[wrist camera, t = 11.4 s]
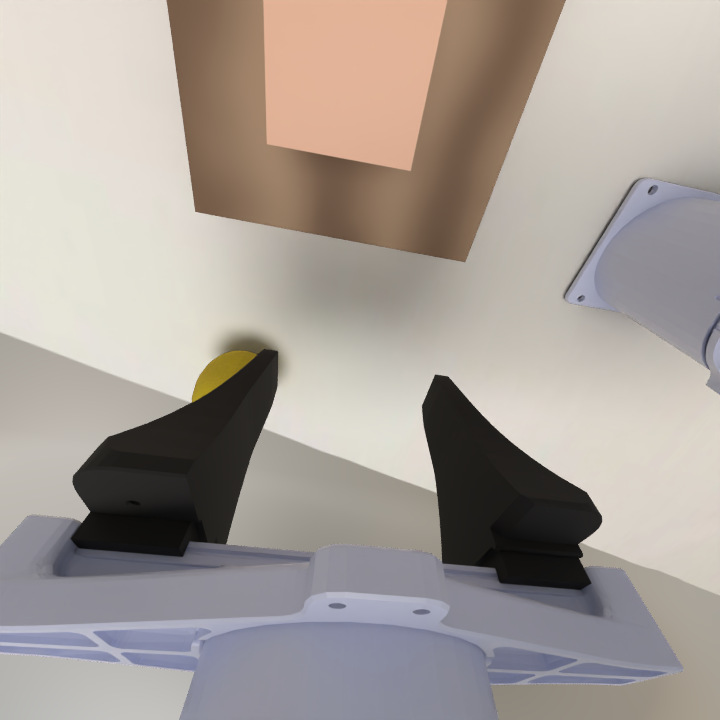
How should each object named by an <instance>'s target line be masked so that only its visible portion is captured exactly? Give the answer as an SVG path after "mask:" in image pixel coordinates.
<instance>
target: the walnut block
mask: <svg viewBox="0 0 720 720" xmlns="http://www.w3.org/2000/svg"><path fill="white" fill-rule="evenodd" d="M565 1H566V0H447V5H446V9H445V14H444V19H443V23H442V28H441V33H440V37H439V42H438V46H437V51H436V56H435V60H434V65H433V70H432V74H431V79H430V83H429V88H428V93H427V97H426V102H425V107H424V111H423V116H422V120H421V125H420V130H419V134H418V139H417V144H416V148H415V153H414V158H413V162H412V167H411V171H408V170H402V169H397V168H392V167H386V166H381V165H376V164H370V163H365V162H360V161H354V160H349V159H344V158H338V157H333V156H328V155H322V154H317V153H311V152H306V151H301V150H295V149H290V148H285V147H279V146H274V145H269V144H267V135H266V93H265V51H264V8H263V0H167V5H168V13H169V20H170V27H171V35H172V42H173V50H174V57H175V64H176V72H177V79H178V87H179V94H180V101H181V109H182V116H183V123H184V131H185V138H186V146H187V153H188V160H189V168H190V175H191V182H192V190H193V197H194V205H195V212H199V213H205V214H210V215H215V216H221V217H226V218H231V219H237V220H242V221H247V222H253V223H258V224H264V225H269V226H274V227H280V228H285V229H290V230H296V231H301V232H306V233H312V234H317V235H322V236H328V237H333V238H338V239H344V240H349V241H355V242H360V243H365V244H371V245H376V246H381V247H387V248H392V249H397V250H403V251H408V252H413V253H419V254H424V255H429V256H435V257H440V258H445V259H451V260H456V261H462V262H465V261H466V259H467V256H468V253H469V251H470V248H471V246H472V243H473V240H474V238H475V235H476V233H477V230H478V227H479V225H480V222H481V220H482V217H483V214H484V212H485V209H486V207H487V204H488V201H489V199H490V196H491V194H492V191H493V188H494V186H495V183H496V181H497V178H498V175H499V173H500V170H501V168H502V165H503V162H504V160H505V157H506V154H507V152H508V149H509V147H510V144H511V141H512V139H513V136H514V134H515V131H516V128H517V126H518V123H519V121H520V118H521V115H522V113H523V110H524V108H525V105H526V102H527V100H528V97H529V95H530V92H531V89H532V87H533V84H534V82H535V79H536V76H537V74H538V71H539V69H540V66H541V63H542V61H543V58H544V56H545V53H546V50H547V48H548V45H549V43H550V40H551V37H552V35H553V32H554V30H555V27H556V24H557V22H558V19H559V16H560V14H561V11H562V9H563V6H564V3H565Z"/></svg>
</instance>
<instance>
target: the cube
mask: <svg viewBox="0 0 720 720" xmlns="http://www.w3.org/2000/svg"><path fill="white" fill-rule="evenodd" d="M446 5H447V0H263V8H264V51H265V93H266V135H267V144H269V145H274V146H279V147H285V148H290V149H295V150H301V151H306V152H311V153H317V154H322V155H328V156H333V157H338V158H344V159H349V160H354V161H360V162H365V163H370V164H376V165H381V166H386V167H392V168H397V169H402V170H408V171H411V167H412V162H413V158H414V153H415V148H416V144H417V139H418V134H419V130H420V125H421V120H422V116H423V111H424V107H425V102H426V97H427V93H428V88H429V83H430V79H431V74H432V70H433V65H434V60H435V56H436V51H437V46H438V42H439V37H440V33H441V28H442V23H443V19H444V14H445V9H446Z"/></svg>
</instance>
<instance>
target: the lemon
mask: <svg viewBox="0 0 720 720" xmlns="http://www.w3.org/2000/svg"><path fill="white" fill-rule="evenodd" d="M255 356H257V354H255V353H252V352H249V351H241V350H240V351H231V352H227V353H224V354H222V355H220V356H219V357H217V358H216V359H214V360H212V361H211V362H210V363H209V364H208V365H207V366H206V368H205V369H204V370H203V372H202V373H201V374H200V376H199V378H198V380H197V382H196V385H195V388H194V392H193V395H192V402H194V401H196V400H198V399H199V398H201V397H203V396H204V395H206V394H208V393H209V392H211V391H212V390H214V389H215V388H217V387H218V386H220V385H221V384H222V383H224V382H225V381H226V380H228V379H229V378H230V377H232V376H233V375H234V374H236V373H237V372H238V371H239V370H240V369H242V368H243V367H244V366H245V365H246V364H248V363H249V362H250V361H251V360H252V359H253V358H254V357H255Z"/></svg>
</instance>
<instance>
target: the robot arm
mask: <svg viewBox="0 0 720 720" xmlns="http://www.w3.org/2000/svg"><path fill="white" fill-rule="evenodd" d="M651 186H653V188H652V190H651V192H650V193H648V190H649V188H650V187H651ZM581 295H582V297H581V298H580V299H578V297H579V296H581ZM577 299H578V300H577ZM565 300H566V301H567V302H568V303H571V304H577V305H582V306H588V307H593V308H599V309H604V310H610V311H616V312H621V313H624V314H625V315H627V316H628V317H630V318H631V319H633V320H634V321H636V322H637V323H639V324H640V325H642V326H643V327H645V328H646V329H648V330H650V331H651V332H653V333H654V334H656V335H657V336H659V337H660V338H662V339H663V340H665V341H666V342H668V343H669V344H671V345H672V346H674V347H675V348H677V349H678V350H680V351H682V352H683V353H685V354H686V355H688V356H689V357H691V358H692V359H694V360H695V361H697V362H698V363H700V364H701V365H703V366H704V367H706V368H707V369H709V370H710V372H711V374H710V378H709V380H708V381H707V383H706V385H707V386H708V387H710V388H711V389H712V390H714V391H715V392H717V393H718V394H719V395H720V194H717V193H712V192H708V191H704V190H699V189H695V188H691V187H686V186H682V185H677V184H673V183H669V182H664V181H660V180H655V179H651V178H643V179H640V180H639V181H637V182H636V183H635V185H634V186H633V187H632V189H631V191H630V192H629V194H628V195H627V197H626V199H625V200H624V202H623V203H622V205H621V207H620V208H619V210H618V211H617V213H616V215H615V216H614V218H613V220H612V221H611V223H610V224H609V226H608V228H607V229H606V231H605V232H604V234H603V236H602V237H601V239H600V240H599V242H598V244H597V245H596V247H595V248H594V250H593V252H592V253H591V255H590V256H589V258H588V260H587V261H586V263H585V264H584V266H583V268H582V269H581V271H580V273H579V274H578V276H577V277H576V279H575V281H574V282H573V284H572V285H571V287H570V289H569V290H568V292H567V293H566V295H565ZM277 385H278V351H273V350H266V349H264V350H262V351H261V352H260V353H259V354H258V355H257V356H255V357H254V358H253V359H252V360H251V361H250V362H249V363H248V364H246V365H245V366H244V367H243V368H242V369H240V370H239V371H238V372H237V373H236V374H234V375H233V376H232V377H230V378H229V379H228V380H226V381H225V382H224V383H222V384H221V385H220V386H218V387H217V388H215V389H214V390H212V391H211V392H209V393H208V394H206V395H204V396H203V397H201V398H199V399H198V400H196V401H194V402H192V403H190V404H188V405H186V406H184V407H182V408H180V409H179V410H176V411H175V412H172V413H170V414H168V415H166V416H164V417H161V418H159V419H156V420H154V421H152V422H149V423H147V424H144V425H142V426H139V427H136V428H133V429H130V430H127V431H124V432H122V433H119V434H116V435H113V436H110V437H108V438H107V439H106V440H105V441H104V442H103V443H102V444H101V445H100V446H99V447H98V448H97V449H96V450H95V451H94V453H93V454H92V455H91V456H90V457H89V458H88V459H87V461H86V462H85V463H84V464H83V465H82V466H81V468H80V469H79V470H78V471H77V472H76V473H75V474H74V476H73V485H74V488H75V490H76V492H77V493H78V495H79V496H80V497H81V499H82V500H83V502H84V503H85V505H86V506H87V507H88V509H89V510H90V513H89V514H88V516H87V517H86V518H85V520H84V521H83V523H81V522H80V521H78V520H75V519H71V518H65V517H53V516H42V515H29V516H27V517H26V518H25V519H24V520H23V521H22V522H21V524H20V525H19V526H18V527H17V528H16V529H15V530H14V531H13V532H12V533H11V535H10V536H9V537H8V538H7V539H6V540H5V541H4V542H3V543H2V544H1V546H0V654H14V655H15V654H16V655H31V656H43V657H56V658H66V659H77V660H87V661H96V662H107V663H115V664H124V665H133V666H142V667H151V668H161V669H170V670H180V671H188V672H194V675H193V679H192V682H191V685H190V688H189V691H188V694H187V697H186V701H185V703H184V707H183V710H182V713H181V716H180V719H179V720H499V719H498V715H497V710H496V706H495V702H494V698H493V693H492V689H491V685H502V684H503V685H508V684H596V685H628V684H632V683H636V682H640V681H645V680H649V679H653V678H657V677H661V676H666V675H670V674H674V673H679V672H682V671H683V667H682V665H681V663H680V661H679V660H678V658H677V657H676V655H675V653H674V652H673V650H672V648H671V647H670V645H669V643H668V642H667V640H666V638H665V637H664V635H663V634H662V632H661V630H660V629H659V627H658V625H657V624H656V622H655V620H654V619H653V617H652V615H651V614H650V612H649V611H648V609H647V607H646V606H645V604H644V602H643V601H642V599H641V597H640V596H639V594H638V592H637V591H636V589H635V588H634V586H633V584H632V583H631V581H630V579H629V578H628V576H627V574H626V573H625V571H624V570H623V569H621V568H610V567H600V566H589V567H585V568H583V566H582V564H581V562H580V560H579V558H581V557H583V553H582V551H581V549H580V547H579V545H578V544H579V543H580V542H582V541H583V540H585V539H586V538H587V537H589V536H590V535H591V534H593V533H594V532H595V531H596V530H597V529H598V528H599V527H600V525H601V523H602V516H601V514H600V513H599V511H598V510H597V508H596V506H595V505H594V503H593V502H592V500H591V498H590V497H589V495H588V494H587V492H585V491H583V490H582V489H580V488H578V487H576V486H575V485H573V484H571V483H569V482H568V481H566V480H564V479H563V478H561V477H559V476H558V475H556V474H555V473H553V472H551V471H550V470H548V469H547V468H545V467H544V466H542V465H541V464H539V463H538V462H537V461H535V460H534V459H532V458H531V457H530V456H528V455H527V454H526V453H524V452H523V451H522V450H520V449H519V448H518V447H517V446H515V445H514V444H513V443H512V442H510V441H509V440H508V439H507V438H506V437H505V436H503V435H502V434H501V433H500V432H499V431H498V430H497V429H496V428H495V427H494V426H492V425H491V424H490V423H489V421H488V420H487V419H486V418H485V417H484V416H483V415H482V414H481V413H480V412H479V411H478V410H477V409H476V408H475V407H474V406H473V405H472V403H471V402H470V401H469V400H468V399H467V398H466V397H465V395H464V394H463V393H462V392H461V391H460V390H459V388H458V387H457V386H456V385H455V384H454V383H453V382H452V380H451V379H450V378H449V377H448V376H441V375H435V376H434V379H433V381H432V383H431V386H430V388H429V391H428V393H427V395H426V398H425V400H424V403H423V405H422V412H423V423H424V429H425V434H426V438H427V442H428V447H429V451H430V455H431V460H432V464H433V468H434V473H435V480H436V488H437V496H438V506H439V516H440V528H441V544H442V561H440V560H439V559H438V558H437V557H435V556H434V555H433V554H432V553H428V552H423V551H418V550H409V549H398V548H387V547H375V546H365V545H354V544H331V545H328V546H325V547H321V548H319V549H318V550H317V551H316V552H315V553H314V552H304V551H293V550H281V549H270V548H258V547H247V546H236V545H226V543H227V539H228V535H229V531H230V528H231V523H232V520H233V516H234V513H235V509H236V505H237V502H238V498H239V495H240V491H241V488H242V485H243V481H244V478H245V474H246V471H247V468H248V465H249V461H250V458H251V455H252V452H253V450H254V447H255V444H256V442H257V440H258V438H259V435H260V433H261V430H262V428H263V426H264V424H265V421H266V419H267V416H268V414H269V412H270V409H271V407H272V404H273V400H274V397H275V393H276V390H277Z"/></svg>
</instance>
